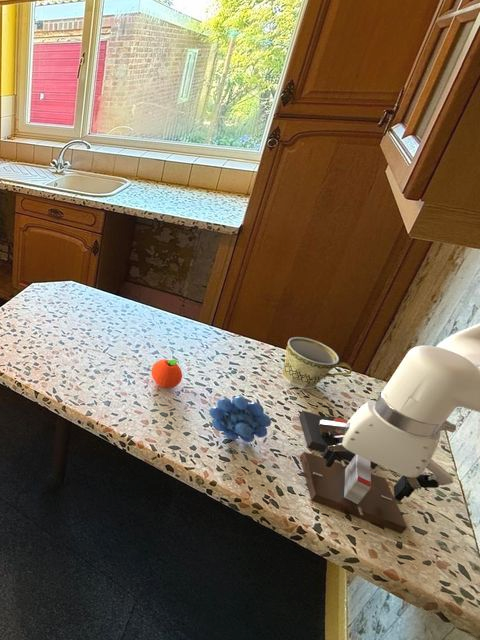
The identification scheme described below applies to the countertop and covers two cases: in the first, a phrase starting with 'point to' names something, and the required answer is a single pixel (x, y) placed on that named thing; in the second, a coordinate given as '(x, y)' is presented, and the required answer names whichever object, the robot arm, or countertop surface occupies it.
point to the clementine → (166, 373)
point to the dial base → (330, 492)
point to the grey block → (357, 479)
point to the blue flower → (240, 419)
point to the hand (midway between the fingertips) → (360, 477)
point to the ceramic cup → (309, 362)
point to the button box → (314, 435)
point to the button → (340, 421)
